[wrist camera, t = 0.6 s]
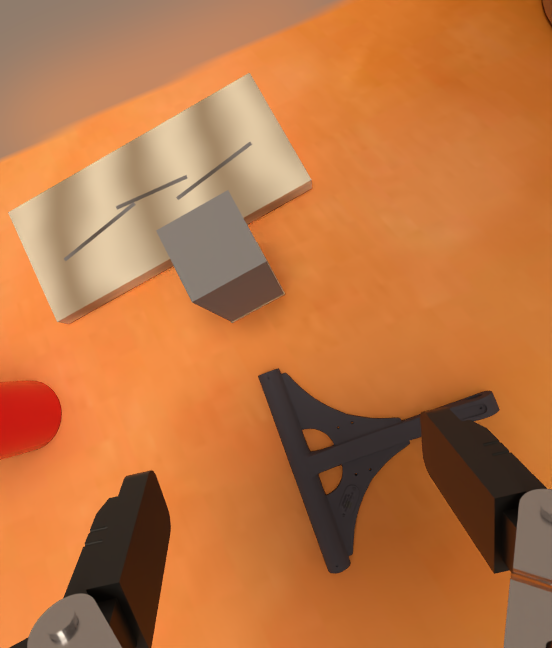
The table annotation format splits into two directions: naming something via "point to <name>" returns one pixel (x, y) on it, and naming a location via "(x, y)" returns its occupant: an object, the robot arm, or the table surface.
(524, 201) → the table surface
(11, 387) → the bottle
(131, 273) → the board
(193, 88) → the table surface
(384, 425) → the squeegee
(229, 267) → the block
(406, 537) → the table surface
